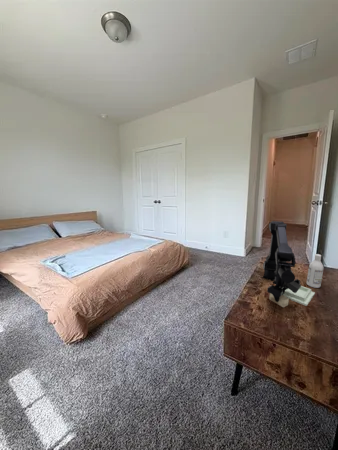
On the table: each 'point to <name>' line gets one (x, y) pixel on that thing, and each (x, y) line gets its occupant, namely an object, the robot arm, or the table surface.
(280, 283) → the robot arm
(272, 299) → the peg
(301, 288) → the socket board
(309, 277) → the bath foam
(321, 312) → the table surface
